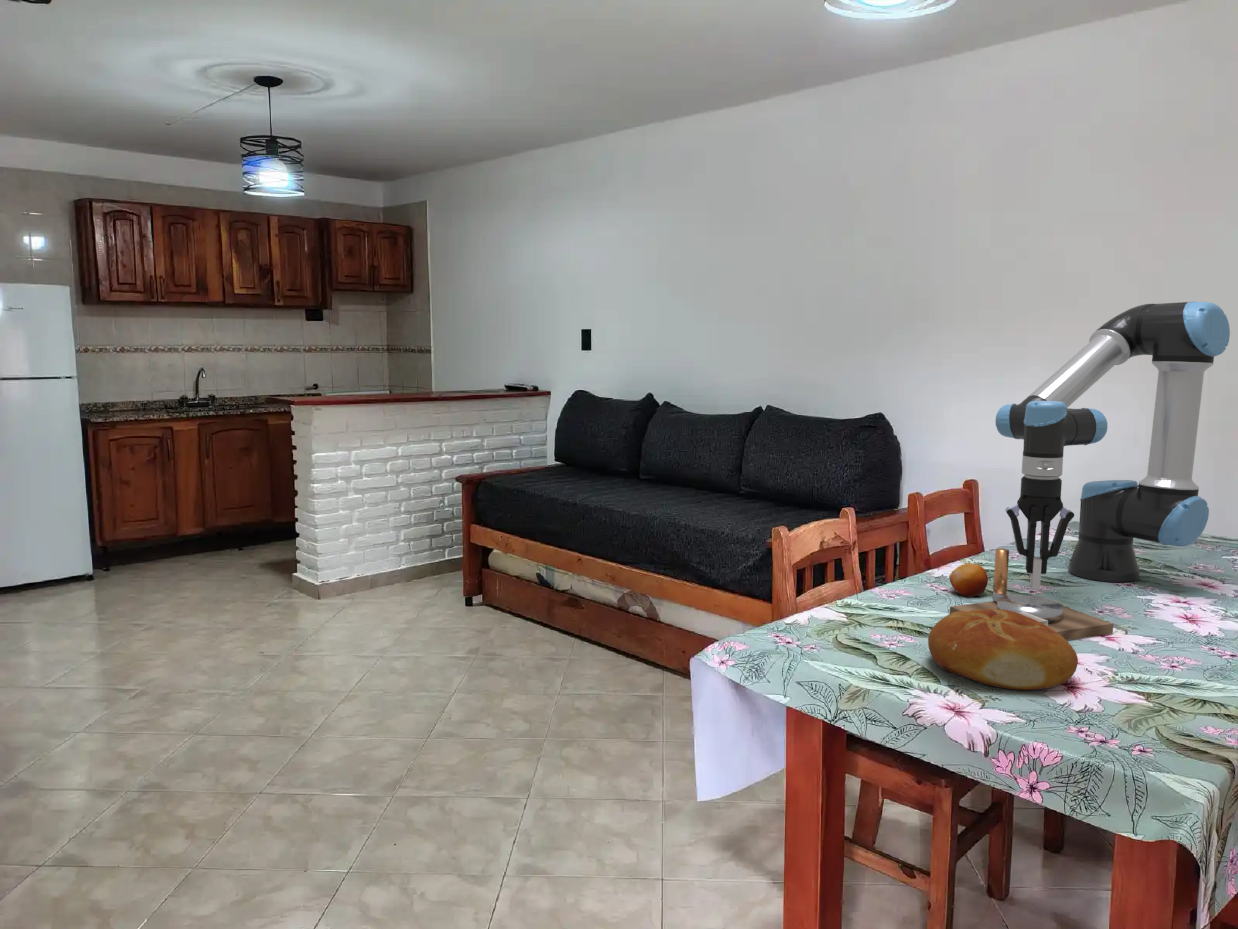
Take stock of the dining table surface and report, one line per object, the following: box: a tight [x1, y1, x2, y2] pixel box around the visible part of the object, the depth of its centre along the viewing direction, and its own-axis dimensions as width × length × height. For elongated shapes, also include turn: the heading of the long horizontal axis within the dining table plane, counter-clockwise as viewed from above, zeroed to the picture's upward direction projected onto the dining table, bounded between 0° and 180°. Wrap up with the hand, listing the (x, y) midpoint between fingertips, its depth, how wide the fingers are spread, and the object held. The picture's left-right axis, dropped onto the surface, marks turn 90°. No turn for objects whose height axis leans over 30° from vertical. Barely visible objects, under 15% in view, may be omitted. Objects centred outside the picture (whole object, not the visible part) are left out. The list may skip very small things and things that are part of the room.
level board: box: [949, 595, 1114, 641], centre depth 176 cm, size 22×20×4 cm
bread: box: [927, 609, 1079, 691], centre depth 151 cm, size 23×23×10 cm
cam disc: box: [992, 547, 1064, 623], centre depth 178 cm, size 16×12×11 cm
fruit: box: [949, 562, 989, 597], centre depth 198 cm, size 8×8×8 cm
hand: (1034, 588), depth 183 cm, fingers closed
